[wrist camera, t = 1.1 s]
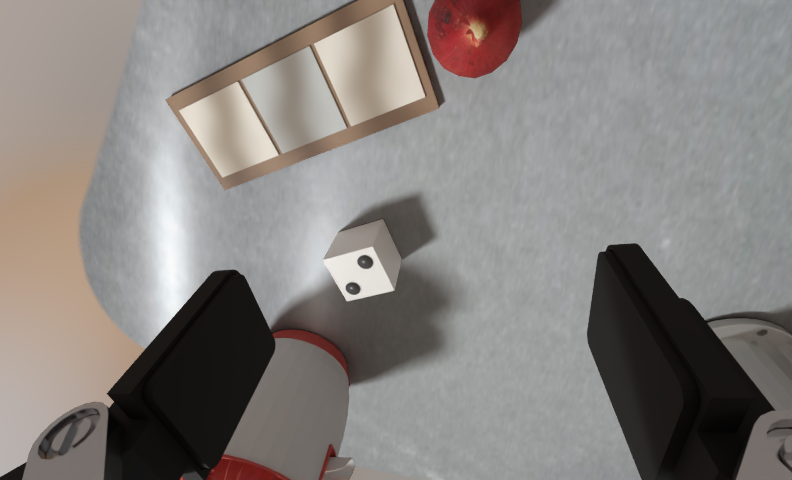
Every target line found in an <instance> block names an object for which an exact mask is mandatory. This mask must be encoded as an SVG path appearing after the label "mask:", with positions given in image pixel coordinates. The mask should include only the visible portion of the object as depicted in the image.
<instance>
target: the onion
mask: <svg viewBox="0 0 792 480" xmlns="http://www.w3.org/2000/svg"><path fill="white" fill-rule="evenodd" d="M521 25H522V16H521V7H520V1H519V0H435V1H434V3H433V5H432V7H431V9H430V11H429V19H428V33H427V36H428V39H429V43H430V46H431V49H432V52H433V55H434V56H435V58H436V59H437V60H438V61H439V63H440V64H441V65H442V66H443V68H444V69H446V70H448V71H450V72H452V73H454V74H456V75H458V76H463V77H470V78H477V77H480V76H483V75H486V74H489V73H492V72H493V71H494V70H495V69H497V68H498V67H499V66H500V65H501V64H503V63H504V62H505V61H506V60H507V59H508V57H509V55H510V54H511V52H512V51H513V49H514V47H515V46H516V44H517V41H518V37H519V33H520V29H521Z"/></svg>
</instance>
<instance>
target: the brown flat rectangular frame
mask: <svg viewBox="0 0 792 480" xmlns="http://www.w3.org/2000/svg"><path fill="white" fill-rule="evenodd" d="M166 102H167V103H168V105H169V106H170V108H171V109H172V111H173V112H174V114H175V115H176V117H177V118H178V120H179V121H180V123H181V124H182V126H183V127H184V129H185V130H186V132H187V134H188V135H189V137H190V138H191V140H192V141H193V143H194V144H195V146H196V147H197V149H198V150H199V152H200V153H201V155H202V156H203V158H204V159H205V161H206V162H207V164H208V165H209V167H210V168H211V170H212V171H213V173H214V174H215V176H216V177H217V179H218V181H219V182H220V184H221V185H222V187H223V188H224V190H227V189H229V188H232V187H234V186H237V185H240V184H242V183H245V182H248V181H250V180H253V179H255V178H258V177H261V176H263V175H266V174H268V173H271V172H274V171H276V170H279V169H282V168H284V167H287V166H289V165H292V164H295V163H297V162H300V161H302V160H305V159H308V158H310V157H313V156H316V155H318V154H321V153H323V152H326V151H329V150H331V149H334V148H337V147H339V146H342V145H344V144H347V143H350V142H352V141H355V140H357V139H360V138H363V137H365V136H368V135H371V134H373V133H376V132H378V131H381V130H384V129H386V128H389V127H391V126H394V125H397V124H399V123H402V122H405V121H407V120H410V119H412V118H415V117H418V116H420V115H423V114H426V113H428V112H431V111H433V110H436V109H439V104H438V101H437V98H436V95H435V92H434V89H433V86H432V83H431V80H430V77H429V74H428V71H427V68H426V65H425V62H424V59H423V56H422V53H421V50H420V47H419V44H418V41H417V38H416V35H415V32H414V29H413V26H412V23H411V20H410V17H409V14H408V11H407V8H406V5H405V2H404V0H358V1H356V2H354V3H352V4H350V5H348V6H346V7H344V8H342V9H340V10H338V11H336V12H334V13H333V14H331V15H329V16H327V17H325V18H323V19H321V20H319V21H317V22H315V23H313V24H311V25H309V26H307V27H305V28H303V29H302V30H300V31H298V32H296V33H294V34H292V35H290V36H288V37H286V38H284V39H282V40H280V41H278V42H276V43H274V44H272V45H270V46H269V47H267V48H265V49H263V50H261V51H259V52H257V53H255V54H253V55H251V56H249V57H247V58H245V59H243V60H241V61H239V62H238V63H236V64H234V65H232V66H230V67H228V68H226V69H224V70H222V71H220V72H218V73H216V74H214V75H212V76H210V77H208V78H207V79H205V80H203V81H201V82H199V83H197V84H195V85H193V86H191V87H189V88H187V89H185V90H183V91H181V92H179V93H177V94H175V95H174V96H172V97H170V98H168V99H166Z"/></svg>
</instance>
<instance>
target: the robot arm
mask: <svg viewBox="0 0 792 480" xmlns="http://www.w3.org/2000/svg"><path fill="white" fill-rule="evenodd" d="M587 338H588V344H589V347H590V350H591V352H592V355H593V357H594V360H595V363H596V365H597V368H598V370H599V373H600V375H601V378H602V380H603V383H604V385H605V388H606V390H607V393H608V395H609V398H610V401H611V403H612V406H613V408H614V411H615V413H616V416H617V418H618V421H619V423H620V426H621V428H622V431H623V433H624V436H625V439H626V441H627V444H628V446H629V449H630V451H631V454H632V456H633V459H634V461H635V464H636V466H637V469H638V471H639V474H640V477H641V479H642V480H792V335H791V334H790V333H789V332H787V331H786V330H785V329H783V328H782V327H780V326H778V325H775V324H773V323H771V322H767V321H763V320H758V319H748V318H735V319H723V320H717V321H712V322H708V323H707V322H706V321H705V320H704V318H703V317H702V316H701V315H700V313H699V312H698V311H697V310H696V308H695V307H694V306H693V305H692V304H691V303H690V302H689V301H688V300H686V299H684V298H679V297H678V296H677V295H676V293H675V292H674V291H673V289H672V288H671V287H670V285H669V284H668V283H667V281H666V280H665V279H664V278H663V276H662V275H661V274H660V272H659V271H658V270H657V268H656V267H655V266H654V264H653V263H652V262H651V260H650V259H649V258H648V256H647V255H646V254H645V252H644V251H643V250H642V248H641V247H640V246H639V245H638V244H635V243H634V244H618V245H609V246H608V247H607V249H606V251H605V252H599V254H598V259H597V266H596V273H595V280H594V288H593V295H592V302H591V309H590V316H589V323H588V330H587ZM275 347H276V343H275V339H274V337H273V335H272V333H271V331H270V329H269V326H268V324H267V322H266V320H265V318H264V316H263V314H262V312H261V310H260V308H259V305H258V303H257V301H256V299H255V297H254V295H253V293H252V291H251V289H250V287H249V284H248V282H247V280H246V278H245V277H244V276H243V275H241V274H240V273H239V272H238V271H237V270H221V271H214V272H213V273H212V274H211V275H210V276H209V277H208V278H207V279H206V280H205V281H204V283H203V284H202V285H201V286H200V287H199V288H198V290H197V291H196V292H195V293H194V294H193V295H192V296H191V298H190V299H189V300H188V301H187V302H186V303H185V304H184V306H183V307H182V308H181V309H180V310H179V311H178V312H177V314H176V315H175V316H174V317H173V318H172V319H171V321H170V322H169V323H168V324H167V325H166V326H165V327H164V329H163V330H162V331H161V332H160V333H159V334H158V335H157V337H156V338H155V339H154V340H153V341H152V342H151V343H150V345H149V346H148V347H147V348H146V349H145V350H144V352H143V353H142V354H141V355H140V356H139V358H137V360H136V361H135V362H134V363H133V364H132V365H131V366H130V368H129V369H128V370H127V371H126V372H125V373H124V375H123V376H122V377H121V378H120V379H119V380H118V381H117V383H116V384H115V385H114V386H113V387H112V388H111V390H110V391H109V392H108V393H107V394H108V395H109V396H110V398H111V399H112V400H113V401H114V403H113V404H112V405H111V407H110V408H108V407H107V406H106V405H105V404H104V403H101V402H91V403H86V404H83V405H81V406H78V407H76V408H74V409H72V410H70V411H69V412H67V413H65V414H63V415H62V416H61V417H59V418H58V419H57V420H55V421H54V422H53V423H51V424H50V425H49V426H48V427H47V429H45V430H44V431H43V432H42V433H41V434H40V436H39V437H38V438H37V440H36V441H35V443H34V444H33V446H32V448H31V450H30V452H29V456H28V459H27V462H26V463H24V464H23V465H21V466H19V467H17V468H15V469H14V470H12V471H10V472H8V473H7V474H5V475H3V476H1V477H0V480H180V479H181V477H183V478H184V479H185V480H206V479H207V477H208V475H209V473H210V472H211V470H212V468H214V467H216V466H217V465H218V463H219V462H220V460H221V458H222V456H223V454H224V452H225V450H226V448H227V446H228V444H229V442H230V440H231V438H232V436H233V434H234V432H235V430H236V428H237V426H238V424H239V422H240V420H241V418H242V416H243V414H244V412H245V410H246V408H247V406H248V404H249V402H250V400H251V398H252V396H253V394H254V392H255V390H256V388H257V386H258V384H259V382H260V380H261V378H262V376H263V374H264V372H265V370H266V368H267V366H268V364H269V362H270V360H271V358H272V356H273V354H274V352H275Z"/></svg>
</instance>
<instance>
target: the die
mask: <svg viewBox="0 0 792 480" xmlns="http://www.w3.org/2000/svg"><path fill="white" fill-rule="evenodd" d="M323 261H324V263H325V265H326V267H327V268H328V270H329V272H330V273H331V275H332V277H333V279H334V280H335V282H336V284H337V285H338V287H339V289H340V291H341V292H342V294H343V296H344V297H345V299H346V301H352V300H356V299H360V298H365V297H369V296H373V295H378V294H382V293H387V292H391V291H395V287H396V283H397V279H398V274H399V270H400V266H401V262H402V259H401V257H400V254H399V252H398V250H397V248H396V246H395V244H394V242H393V239H392V237H391V235H390V233H389V231H388V229H387V227H386V224H385V222H384V220H383V219H381V220H378V221H374V222H371V223H368V224H364V225H361V226H357V227H354V228H351V229H347V230H344V231H341V232H338V234H337V235H336V237H335V239H334V241H333V243H332V244H331V246H330V248H329V250H328V252H327V253H326V255H325V257H324V259H323Z"/></svg>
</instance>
